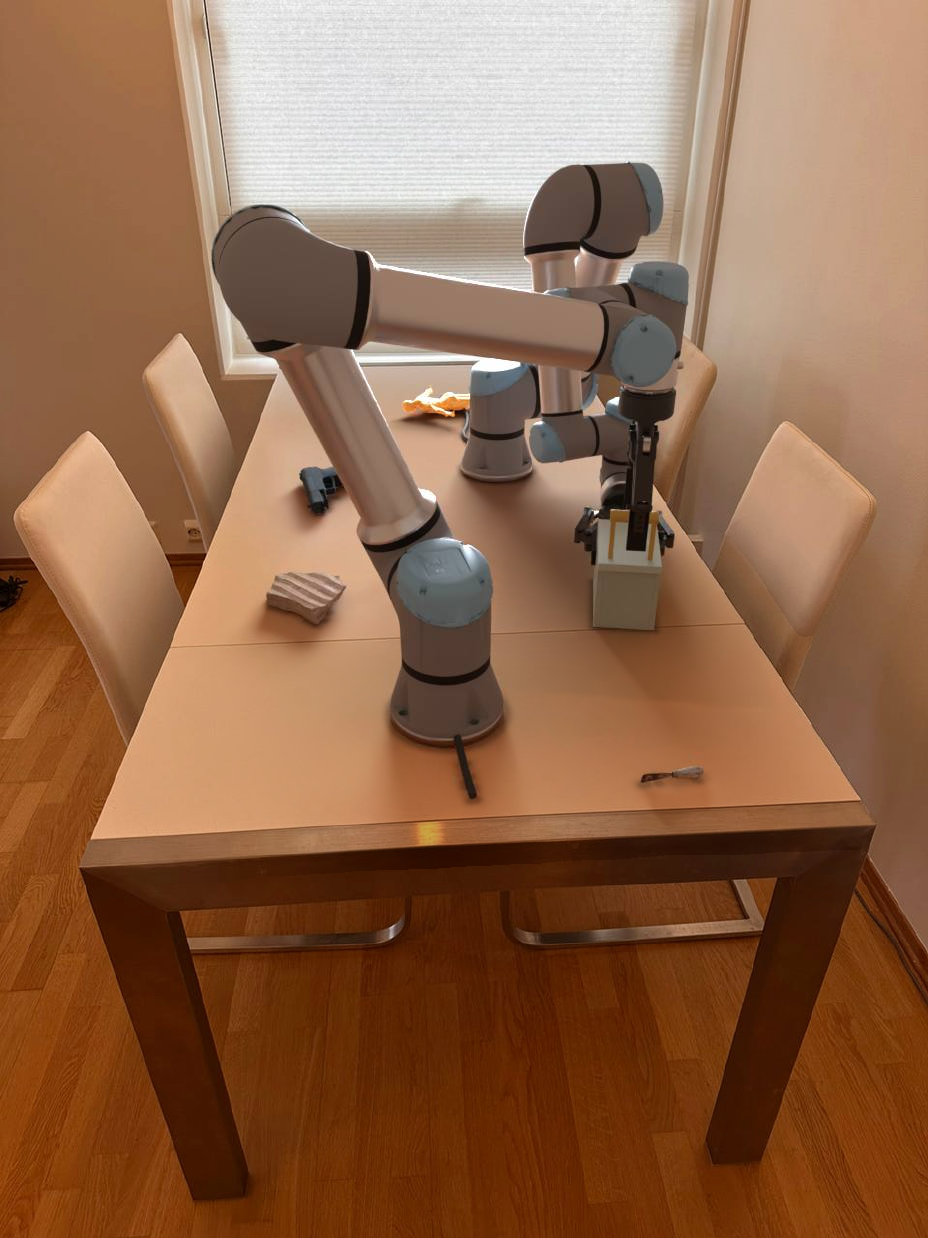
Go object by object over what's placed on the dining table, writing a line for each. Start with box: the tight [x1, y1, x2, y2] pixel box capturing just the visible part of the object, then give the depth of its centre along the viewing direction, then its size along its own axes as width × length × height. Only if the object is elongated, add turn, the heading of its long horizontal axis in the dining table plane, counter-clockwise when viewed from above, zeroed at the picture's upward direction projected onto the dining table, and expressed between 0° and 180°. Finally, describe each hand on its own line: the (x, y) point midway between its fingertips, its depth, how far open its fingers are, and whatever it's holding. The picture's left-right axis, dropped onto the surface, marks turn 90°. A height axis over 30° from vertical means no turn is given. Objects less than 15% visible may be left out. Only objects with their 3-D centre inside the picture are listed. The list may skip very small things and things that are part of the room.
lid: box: [597, 509, 663, 575], centre depth 136 cm, size 15×9×9 cm, turn 173°
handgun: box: [298, 466, 344, 515], centre depth 181 cm, size 3×18×12 cm
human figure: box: [402, 385, 470, 418], centre depth 225 cm, size 20×20×4 cm
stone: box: [265, 571, 347, 625], centre depth 145 cm, size 13×12×2 cm
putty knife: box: [640, 765, 705, 784], centre depth 109 cm, size 1×8×2 cm, turn 103°
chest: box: [592, 528, 662, 631], centre depth 142 cm, size 14×9×10 cm, turn 173°
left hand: (633, 528), depth 131 cm, fingers open, 13 cm apart
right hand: (625, 559), depth 144 cm, fingers closed on chest, 9 cm apart
